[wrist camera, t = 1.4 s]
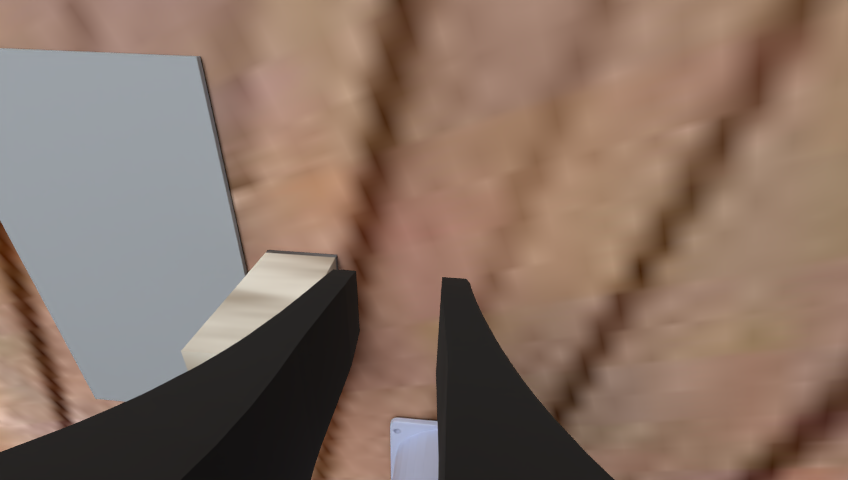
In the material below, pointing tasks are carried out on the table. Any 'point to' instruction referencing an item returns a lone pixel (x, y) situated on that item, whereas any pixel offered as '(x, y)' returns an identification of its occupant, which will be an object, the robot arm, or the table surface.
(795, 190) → the table surface
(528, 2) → the table surface
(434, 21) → the table surface
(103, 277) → the mat
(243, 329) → the birch block
